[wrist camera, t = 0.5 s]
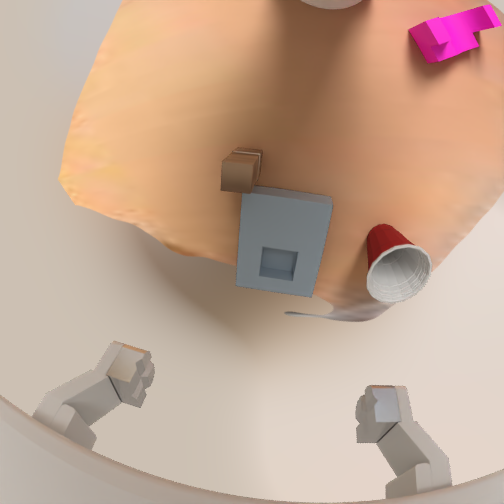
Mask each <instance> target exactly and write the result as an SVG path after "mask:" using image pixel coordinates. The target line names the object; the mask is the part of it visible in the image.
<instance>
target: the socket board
mask: <svg viewBox="0 0 504 504" xmlns="http://www.w3.org/2000/svg"><path fill="white" fill-rule="evenodd" d="M332 209H333V202H332V199H331V197H330V196H324V195H318V194H312V193H306V192H299V191H293V190H286V189H279V188H272V187H264V186H257V185H254V188H253V190H252V192H251V194H245V193H242V204H241V217H240V231H239V244H238V259H237V273H236V286H239V287H246V288H251V289H258V290H264V291H271V292H277V293H284V294H291V295H298V296H305V297H312V294H313V290H314V286H315V283H316V279H317V275H318V271H319V267H320V262H321V258H322V254H323V250H324V246H325V241H326V237H327V233H328V228H329V223H330V219H331V214H332Z"/></svg>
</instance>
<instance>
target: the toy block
mask: <svg viewBox="0 0 504 504" xmlns="http://www.w3.org/2000/svg"><path fill="white" fill-rule="evenodd" d="M498 26H502V25H501V23H500V21H499V19H498V17H497V16H496V14H495V12H494V10H493V8H492V7H491V5H485V6H481V7H477V8H474V9H471V10H467V11H464V12H460V13H457V14H453V15H450V16H446V17H443V18H439V17H437V18H434V19H431V20H427V21H425V22H423V23H421V24H419V25H417V26H415V27H413V28H411V29H409V32H410V33H411V35H412V37H413V38H414V40H415V42H416V43H417V45H418V47H419V49H420V50H421V52H422V54H423V56H424V57H425V59H426V61H427V63H433V62H439V61H442V60H444V59H447V58H450V57H452V56H455V55H458V54H459V53H461V52H464V51H466V50H469V49H473V48H476V47H479V45H478V43H477V41H476V39H475V37H474V35H473V32H477V31H481V30H485V29H489V28H494V27H498Z"/></svg>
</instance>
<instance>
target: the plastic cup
mask: <svg viewBox="0 0 504 504" xmlns="http://www.w3.org/2000/svg"><path fill="white" fill-rule="evenodd" d="M367 254H368V273H367V289H368V291H369V293H370V294H371V296H372V297H373V298H375V299H376V300H378V301H380V302H384V303H397V302H401V301H405V300H407V299H409V298H411V297H413V296H415V295H416V294H417V293H418V292H419V291H420V290H421V289H422V288H423V287H424V286H425V285H426V283H427V281H428V279H429V277H430V275H431V270H432V262H431V259H430V256H429V254H428V253H427V252H426V251H424V250H423V249H422V248H421V247H419V246H415V245H414V244H412V243H411V242H410V241H409V240H407V239H406V238H405V237H404V236H403V235H402V234H401V233H400V232H398V231H397V230H396V229H394V228H393V227H392V226H390V225H387V224H380V225H377V226H375V227H374V228H373V229H372V230H371V231H370V232H369V234H368V237H367Z"/></svg>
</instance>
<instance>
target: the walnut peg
mask: <svg viewBox="0 0 504 504" xmlns="http://www.w3.org/2000/svg"><path fill="white" fill-rule="evenodd" d="M261 158H262V150H254V149H244V148H237V149H236V150H234V151H232V153H231V154H230V155H229V156H228V157H227V158H226V159H224V160H223V161H222V174H221V191H229V192H237V193H245V194H251V192H252V190H253V188H254V185H255V183H256V181H258V177H259V175H260V168H261Z"/></svg>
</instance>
